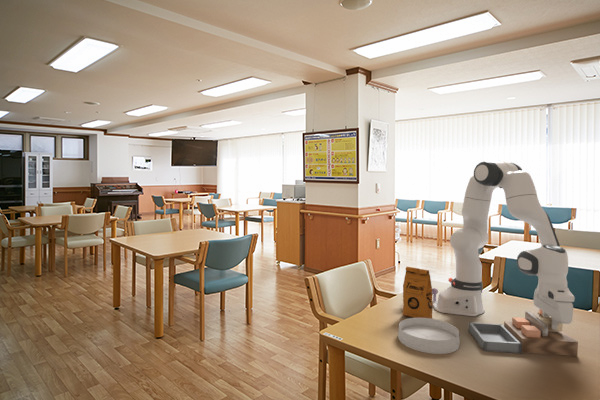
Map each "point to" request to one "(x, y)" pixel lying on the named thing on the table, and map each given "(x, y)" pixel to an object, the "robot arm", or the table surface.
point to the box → (494, 337)
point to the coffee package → (417, 293)
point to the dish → (429, 335)
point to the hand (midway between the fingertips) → (550, 326)
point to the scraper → (541, 323)
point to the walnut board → (545, 342)
